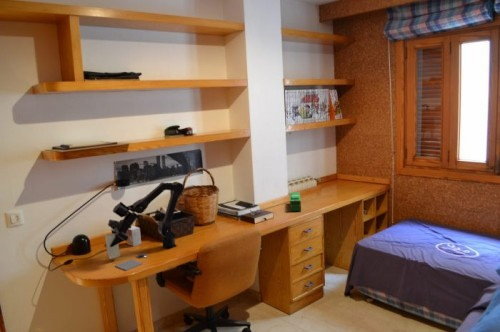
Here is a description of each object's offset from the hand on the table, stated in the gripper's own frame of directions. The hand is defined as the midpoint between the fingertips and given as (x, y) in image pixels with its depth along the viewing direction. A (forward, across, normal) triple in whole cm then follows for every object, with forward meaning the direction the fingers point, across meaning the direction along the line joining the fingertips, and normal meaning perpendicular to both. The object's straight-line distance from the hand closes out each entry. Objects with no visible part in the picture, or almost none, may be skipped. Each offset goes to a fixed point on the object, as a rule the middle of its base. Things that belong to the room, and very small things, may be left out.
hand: (109, 245), depth 222 cm
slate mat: (+2, +13, +11) cm, 17 cm away
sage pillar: (+4, 0, +6) cm, 7 cm away
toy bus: (-92, -21, +106) cm, 142 cm away
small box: (-6, -20, +19) cm, 28 cm away
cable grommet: (-5, +4, +18) cm, 19 cm away
